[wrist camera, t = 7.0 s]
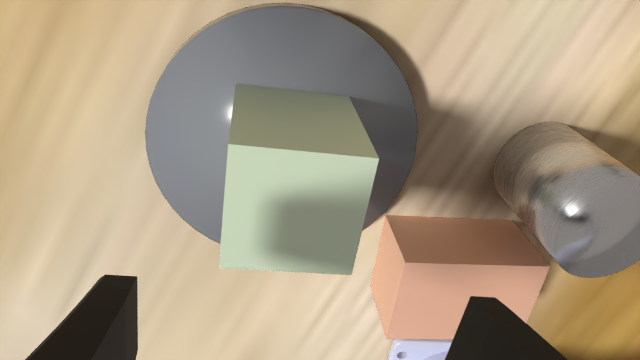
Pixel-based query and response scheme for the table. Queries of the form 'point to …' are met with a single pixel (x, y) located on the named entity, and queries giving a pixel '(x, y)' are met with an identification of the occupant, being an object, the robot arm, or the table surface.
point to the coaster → (277, 72)
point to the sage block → (295, 182)
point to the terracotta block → (450, 272)
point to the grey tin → (572, 198)
